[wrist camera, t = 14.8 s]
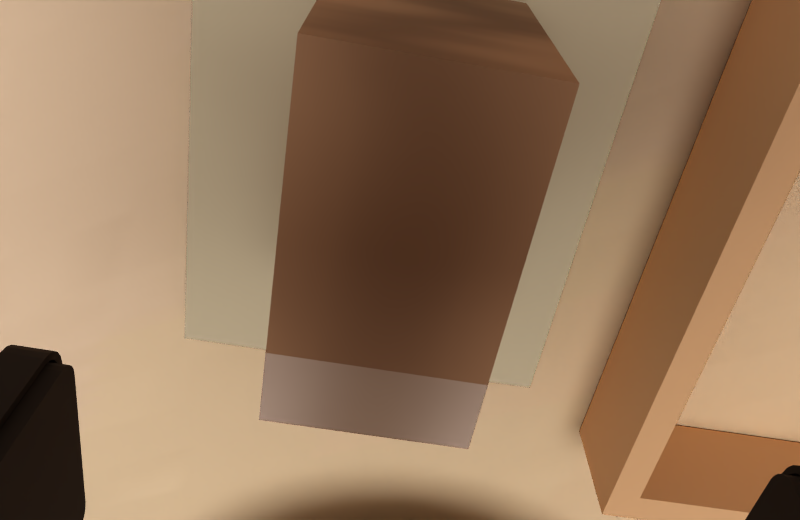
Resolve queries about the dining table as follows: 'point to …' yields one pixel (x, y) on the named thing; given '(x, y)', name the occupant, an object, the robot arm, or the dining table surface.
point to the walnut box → (407, 210)
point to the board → (266, 147)
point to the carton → (702, 296)
